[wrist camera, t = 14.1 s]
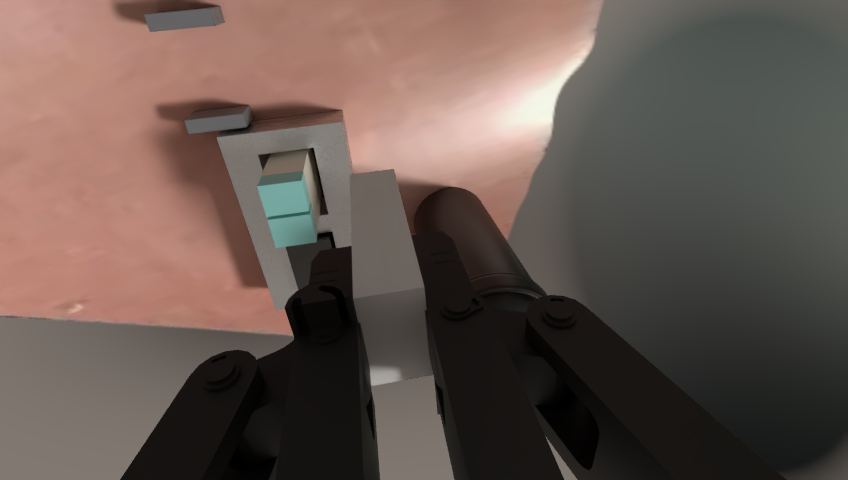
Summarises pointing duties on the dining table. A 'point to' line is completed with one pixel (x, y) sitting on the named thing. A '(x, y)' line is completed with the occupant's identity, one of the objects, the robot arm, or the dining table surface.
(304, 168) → the plug
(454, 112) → the dining table surface
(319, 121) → the panel
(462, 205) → the water bottle
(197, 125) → the pair of grey blocks
